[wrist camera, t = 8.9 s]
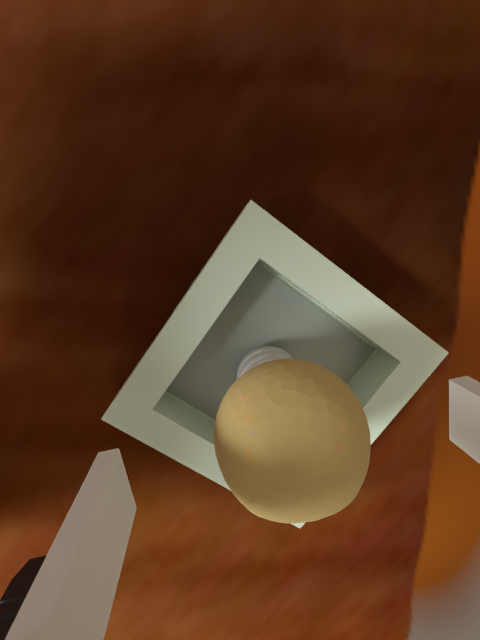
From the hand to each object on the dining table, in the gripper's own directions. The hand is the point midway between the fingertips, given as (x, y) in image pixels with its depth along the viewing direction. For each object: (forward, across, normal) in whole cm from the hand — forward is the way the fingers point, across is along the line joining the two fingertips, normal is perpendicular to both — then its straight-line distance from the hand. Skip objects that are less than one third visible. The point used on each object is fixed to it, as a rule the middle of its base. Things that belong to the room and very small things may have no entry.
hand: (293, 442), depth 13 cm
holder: (+9, +1, 0) cm, 9 cm away
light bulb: (+8, 0, 0) cm, 8 cm away
